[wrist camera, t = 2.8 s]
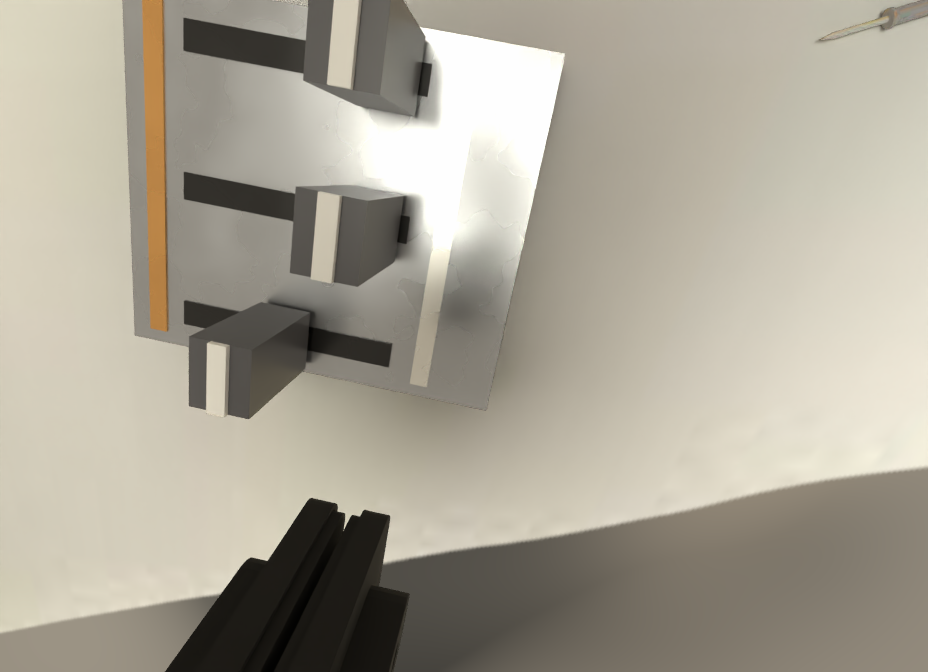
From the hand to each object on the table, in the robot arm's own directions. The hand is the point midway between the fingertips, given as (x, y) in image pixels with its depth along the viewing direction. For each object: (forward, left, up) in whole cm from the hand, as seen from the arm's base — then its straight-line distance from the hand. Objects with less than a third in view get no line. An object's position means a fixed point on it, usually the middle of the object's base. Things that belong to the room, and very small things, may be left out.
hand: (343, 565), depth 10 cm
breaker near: (-11, -3, -10) cm, 15 cm away
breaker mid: (-6, -3, -10) cm, 12 cm away
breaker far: (-1, -6, -10) cm, 12 cm away
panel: (-6, -5, -12) cm, 14 cm away
